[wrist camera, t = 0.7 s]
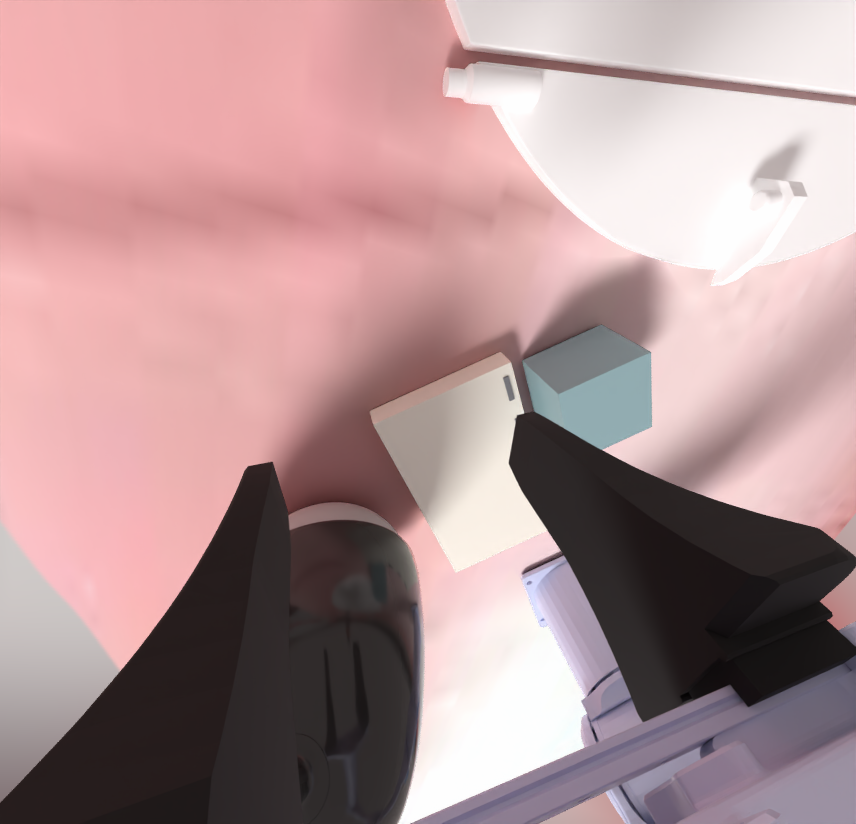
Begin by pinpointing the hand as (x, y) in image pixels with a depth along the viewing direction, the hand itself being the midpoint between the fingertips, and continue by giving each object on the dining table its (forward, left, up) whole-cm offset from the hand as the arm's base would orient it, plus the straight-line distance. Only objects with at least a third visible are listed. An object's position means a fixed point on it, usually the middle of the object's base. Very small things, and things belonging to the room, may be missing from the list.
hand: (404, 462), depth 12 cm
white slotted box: (-11, -2, -10) cm, 15 cm away
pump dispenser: (-11, +8, -10) cm, 17 cm away
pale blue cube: (-7, -10, -10) cm, 16 cm away
